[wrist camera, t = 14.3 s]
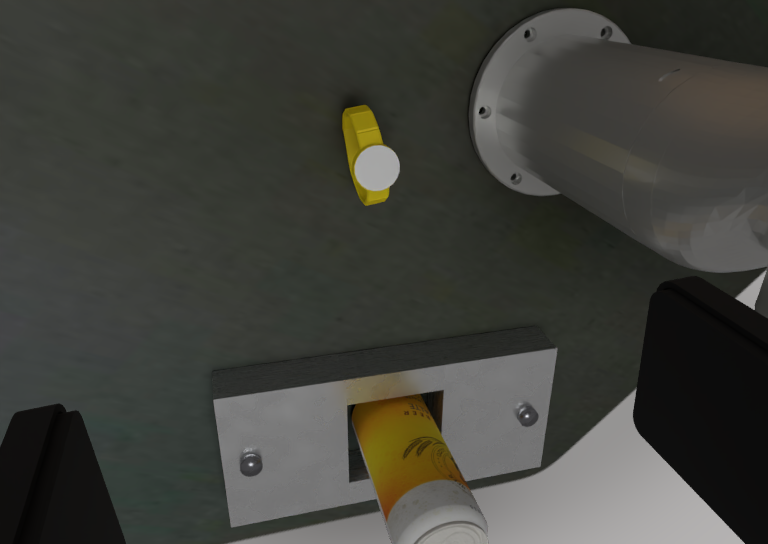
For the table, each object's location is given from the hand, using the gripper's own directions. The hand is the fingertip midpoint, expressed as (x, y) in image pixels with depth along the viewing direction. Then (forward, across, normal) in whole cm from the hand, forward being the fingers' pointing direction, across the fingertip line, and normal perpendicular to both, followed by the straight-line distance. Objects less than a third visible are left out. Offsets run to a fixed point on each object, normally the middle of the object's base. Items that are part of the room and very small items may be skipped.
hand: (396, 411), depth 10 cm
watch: (+32, -6, +4) cm, 33 cm away
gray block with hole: (+32, -7, +27) cm, 42 cm away
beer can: (+32, -7, +26) cm, 42 cm away
